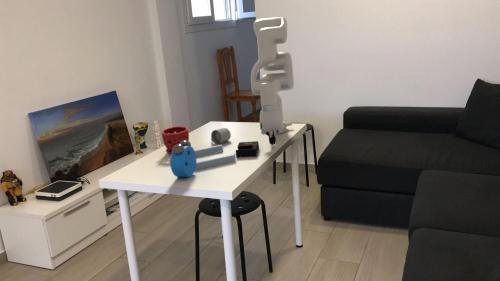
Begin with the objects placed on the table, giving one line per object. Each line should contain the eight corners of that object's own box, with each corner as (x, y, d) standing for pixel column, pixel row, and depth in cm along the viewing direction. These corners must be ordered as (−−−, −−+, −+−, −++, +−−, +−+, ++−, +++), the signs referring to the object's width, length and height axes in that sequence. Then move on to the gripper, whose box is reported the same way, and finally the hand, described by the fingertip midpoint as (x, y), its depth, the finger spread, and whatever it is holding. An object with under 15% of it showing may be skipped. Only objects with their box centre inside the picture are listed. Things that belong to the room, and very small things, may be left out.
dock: (222, 150, 223) (221, 144, 222) (235, 161, 205) (235, 154, 204) (185, 158, 217) (184, 152, 216) (196, 169, 199) (195, 163, 198)
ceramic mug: (232, 140, 238) (230, 126, 236) (222, 145, 232) (220, 130, 230) (218, 139, 244) (216, 125, 242) (207, 143, 238) (205, 129, 236)
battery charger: (239, 150, 222) (239, 142, 221) (259, 148, 221) (258, 140, 220) (236, 158, 210) (235, 150, 208) (256, 157, 208) (255, 149, 207)
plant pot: (159, 154, 227) (156, 131, 224) (180, 147, 236) (176, 125, 233) (175, 158, 218) (172, 134, 215) (196, 150, 227) (193, 127, 224)
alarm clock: (185, 170, 199) (180, 138, 195) (198, 170, 197) (194, 137, 193) (172, 181, 187) (167, 147, 183) (186, 182, 185) (180, 147, 181)
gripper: (280, 103, 222) (283, 139, 227) (252, 108, 217) (255, 145, 222) (287, 106, 215) (289, 142, 220) (258, 111, 210) (261, 149, 215)
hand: (272, 144), depth 221 cm, fingers closed
